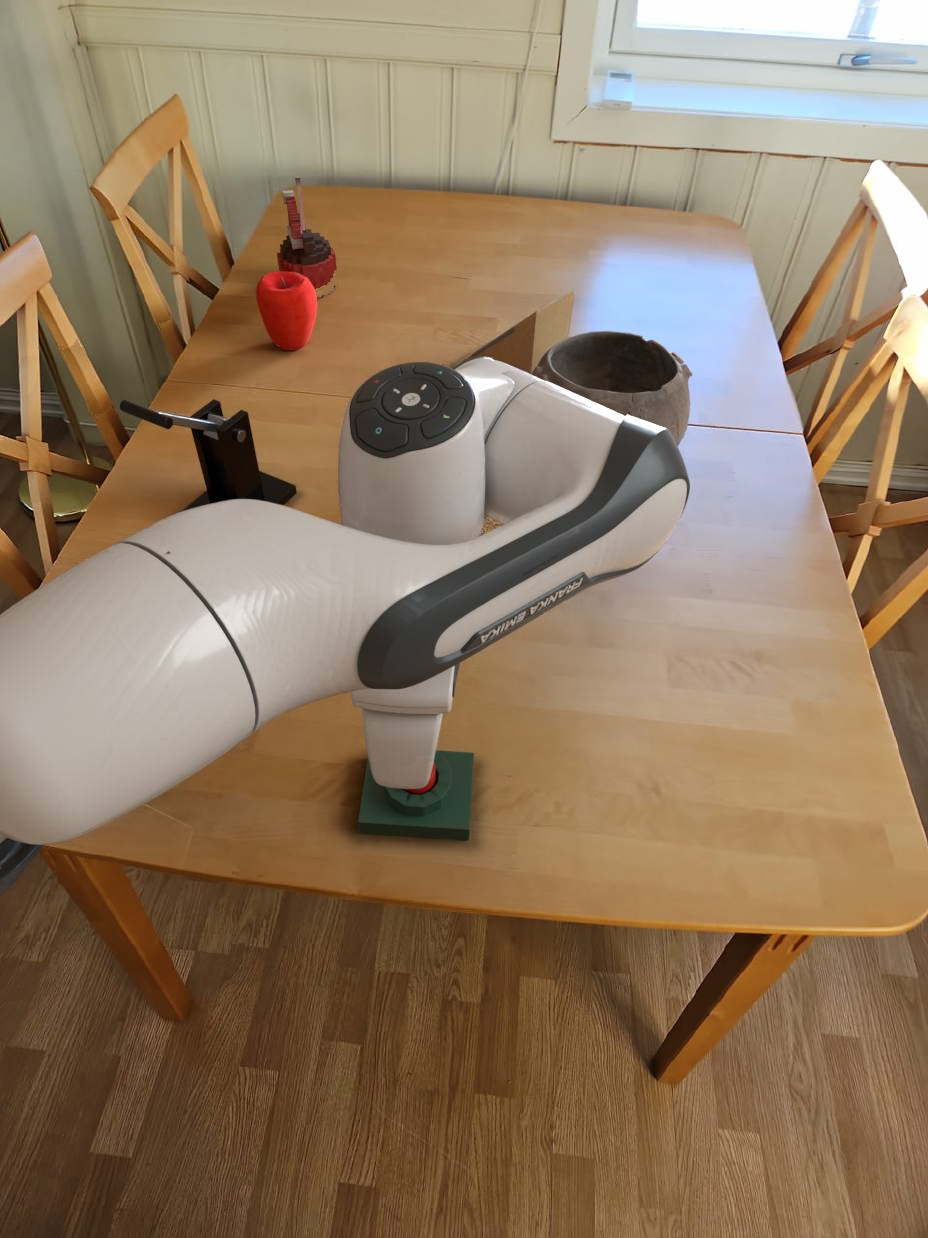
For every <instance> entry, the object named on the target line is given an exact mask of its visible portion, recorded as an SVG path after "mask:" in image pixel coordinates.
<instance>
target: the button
mask: <svg viewBox="0 0 928 1238" xmlns="http://www.w3.org/2000/svg"><path fill="white" fill-rule="evenodd" d="M434 783H435V763H433V768H432V772H431V776H430V779H429V782H428V784H427V785H426V786H425V787H423V788H419V789H405V790H407V791H408V792H411V793H415V794H420V793H424V792H426V791H428V790H430V789H431V788H432V786H433V785H434Z"/></svg>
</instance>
